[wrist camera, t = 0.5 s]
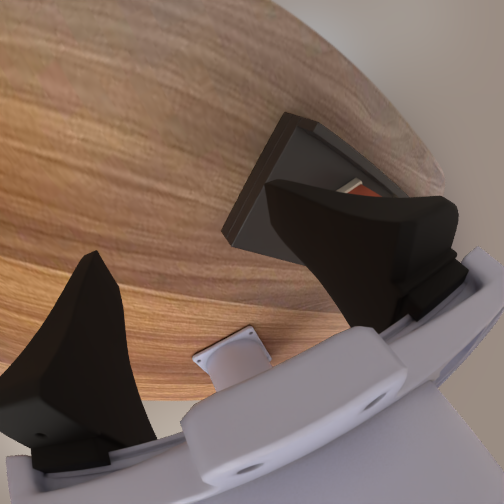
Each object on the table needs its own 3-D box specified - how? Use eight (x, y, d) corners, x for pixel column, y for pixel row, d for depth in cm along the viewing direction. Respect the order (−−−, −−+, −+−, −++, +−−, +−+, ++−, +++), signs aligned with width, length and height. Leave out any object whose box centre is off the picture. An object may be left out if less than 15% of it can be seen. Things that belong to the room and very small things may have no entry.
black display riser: (422, 217, 36) (445, 233, 33) (382, 279, 40) (402, 297, 37) (284, 111, 20) (318, 121, 17) (220, 231, 24) (240, 261, 20)
